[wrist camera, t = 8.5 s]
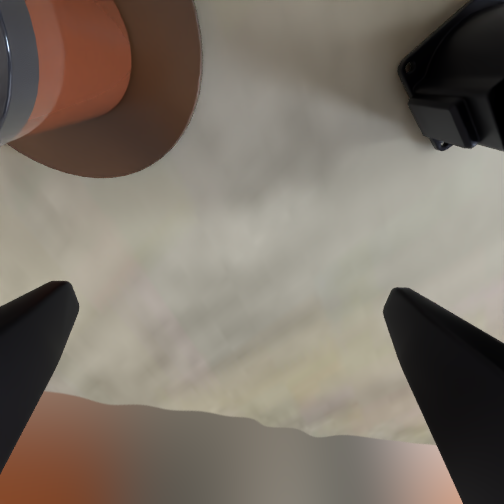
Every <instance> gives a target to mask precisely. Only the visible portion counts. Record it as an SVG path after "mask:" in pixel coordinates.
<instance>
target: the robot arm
mask: <svg viewBox="0 0 504 504" xmlns="http://www.w3.org/2000/svg"><path fill="white" fill-rule="evenodd" d="M408 63H410V64H411V68H410V70H409V71H408V72H406V69H405V68H406V65H407V64H408ZM398 75H399V77H400V79H401V81H402V83H403V85H404V87H405V89H406V91H407V93H408V95H409V97H410V98H409V101H408V106H409V108H410V110H411V112H412V114H413V116H414V118H415V120H416V122H417V124H418V126H419V128H420V130H421V132H422V134H423V135H424V136H426V137H429V138H430V140H431V142H432V145H433V147H434V148H435V149H437V150H440V151H444V150H446V149H448V148H449V147H451V146H452V145H456V146H459V147H462V148H473V147H474V146H476V145H477V144H478V145H482V146H486V147H489V148H493V149H496V150H500V151H504V0H470V1H469V2H468V3H467V4H465V5H464V6H463V7H462V8H461V9H460V10H459V11H457V12H456V13H455V14H454V15H453V16H452V17H451V18H450V19H448V20H447V21H446V22H445V23H444V24H443V25H442V26H440V27H439V28H438V29H437V30H436V31H435V32H434V33H432V34H431V35H430V36H429V37H428V38H427V39H426V40H425V41H423V42H422V43H421V44H420V45H419V46H418V47H417V48H415V49H414V50H413V51H412V52H411V53H410V54H409V55H407V56H406V57H405V58H404V59H403V60H402V61H401V62H400V64H399V66H398ZM442 141H443V142H444V144H443V145H441V142H442ZM78 312H79V303H78V300H77V297H76V295H75V292H74V290H73V287H72V285H71V284H70V283H69V282H67V281H51V282H48V283H46V284H44V285H42V286H40V287H38V288H36V289H34V290H32V291H30V292H28V293H26V294H25V295H23V296H21V297H19V298H17V299H15V300H13V301H11V302H9V303H7V304H5V305H3V306H1V307H0V474H1V472H2V470H3V468H4V466H5V464H6V462H7V460H8V459H9V457H10V455H11V453H12V451H13V449H14V447H15V445H16V443H17V441H18V439H19V437H20V435H21V433H22V432H23V429H24V428H25V426H26V424H27V422H28V420H29V418H30V417H31V414H32V413H33V411H34V409H35V407H36V405H37V403H38V401H39V399H40V397H41V395H42V394H43V392H44V390H45V388H46V386H47V384H48V382H49V380H50V378H51V376H52V375H53V373H54V371H55V368H56V366H57V364H58V362H59V360H60V358H61V355H62V353H63V350H64V348H65V345H66V343H67V340H68V337H69V335H70V332H71V330H72V327H73V325H74V322H75V320H76V317H77V315H78ZM383 315H384V318H385V321H386V324H387V327H388V330H389V333H390V336H391V339H392V342H393V345H394V348H395V351H396V354H397V357H398V360H399V362H400V365H401V367H402V370H403V372H404V374H405V376H406V379H407V381H408V383H409V385H410V387H411V390H412V392H413V394H414V396H415V398H416V401H417V403H418V405H419V407H420V409H421V412H422V414H423V416H424V418H425V421H426V423H427V425H428V427H429V429H430V432H431V434H432V436H433V438H434V440H435V443H436V445H437V447H438V449H439V451H440V454H441V456H442V458H443V460H444V462H445V465H446V467H447V469H448V471H449V473H450V476H451V478H452V480H453V482H454V484H455V487H456V489H457V491H458V493H459V495H460V498H461V500H462V502H463V504H504V343H502V342H501V341H499V340H497V339H496V338H494V337H492V336H490V335H489V334H487V333H485V332H484V331H482V330H480V329H478V328H477V327H475V326H473V325H472V324H470V323H468V322H466V321H465V320H463V319H461V318H460V317H458V316H456V315H454V314H453V313H451V312H449V311H448V310H446V309H444V308H443V307H441V306H439V305H437V304H436V303H434V302H432V301H431V300H429V299H427V298H425V297H424V296H422V295H420V294H419V293H417V292H415V291H413V290H412V289H410V288H398V287H396V288H394V289H392V290H391V292H390V295H389V297H388V299H387V301H386V304H385V306H384V309H383Z"/></svg>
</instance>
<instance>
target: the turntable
mask: <svg viewBox="0 0 504 504" xmlns="http://www.w3.org/2000/svg"><path fill="white" fill-rule="evenodd" d="M113 1H114V3H115V5H116V7H117V8H118V10H119V13H120V15H121V17H122V20H123V22H124V25H125V28H126V31H127V34H128V39H129V44H130V51H131V73H130V79H129V83H128V86H127V89H126V91H125V94H124V95H123V97H122V99H121V100H120V102H119V103H118V104H117V105H116V106H115V107H114V108H113V109H112V110H110V111H109V112H107V113H106V114H104V115H102V116H99V117H96V118H93V119H89V120H86V121H82V122H79V123H75V124H72V125H68V126H64V127H61V128H57V129H54V130H50V131H47V132H43V133H40V134H36V135H32V136H29V137H25V138H22V139H18V140H15V141H11V142H8V143H6V144H8V145H9V146H11V147H12V148H14V149H15V150H17V151H18V152H20V153H22V154H24V155H25V156H27V157H29V158H31V159H33V160H34V161H36V162H39V163H41V164H43V165H45V166H48V167H50V168H53V169H56V170H59V171H62V172H65V173H68V174H73V175H78V176H82V177H92V178H113V177H119V176H126V175H129V174H132V173H135V172H138V171H141V170H143V169H145V168H147V167H149V166H151V165H152V164H154V163H155V162H157V161H158V160H159V159H161V158H162V157H163V156H164V155H165V154H166V153H167V152H168V151H170V150H171V149H172V148H173V147H174V145H175V144H176V143H177V142H178V140H179V139H180V138H181V136H182V135H183V134H184V132H185V130H186V128H187V126H188V125H189V123H190V121H191V118H192V116H193V113H194V111H195V108H196V105H197V101H198V97H199V93H200V87H201V80H202V64H203V52H202V41H201V31H200V26H199V21H198V16H197V10H196V7H195V4H194V0H113Z"/></svg>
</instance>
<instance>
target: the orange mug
mask: <svg viewBox="0 0 504 504" xmlns="http://www.w3.org/2000/svg"><path fill="white" fill-rule="evenodd" d="M130 73H131V51H130V44H129V39H128V34H127V31H126V28H125V25H124V22H123V20H122V17H121V15H120V13H119V10H118V8H117V7H116V5H115V3H114V1H113V0H0V147H1V146H3V145H4V144H6V143H8V142H11V141H15V140H18V139H22V138H25V137H29V136H32V135H36V134H40V133H43V132H47V131H50V130H54V129H57V128H61V127H64V126H68V125H72V124H75V123H79V122H82V121H86V120H89V119H93V118H96V117H99V116H102V115H104V114H106V113H107V112H109V111H110V110H112V109H113V108H114V107H115V106H116V105H117V104H118V103H119V102H120V100H121V99H122V97H123V95H124V94H125V91H126V89H127V86H128V83H129V79H130Z"/></svg>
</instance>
